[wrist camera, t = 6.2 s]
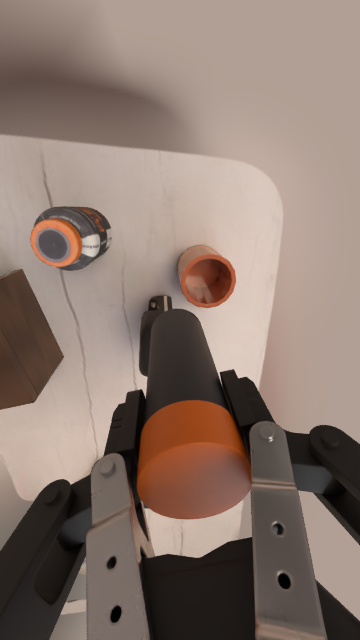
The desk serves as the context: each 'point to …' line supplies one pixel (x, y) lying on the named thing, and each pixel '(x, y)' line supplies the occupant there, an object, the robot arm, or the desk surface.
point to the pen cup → (205, 276)
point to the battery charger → (155, 309)
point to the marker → (188, 427)
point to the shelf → (23, 343)
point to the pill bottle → (70, 237)
